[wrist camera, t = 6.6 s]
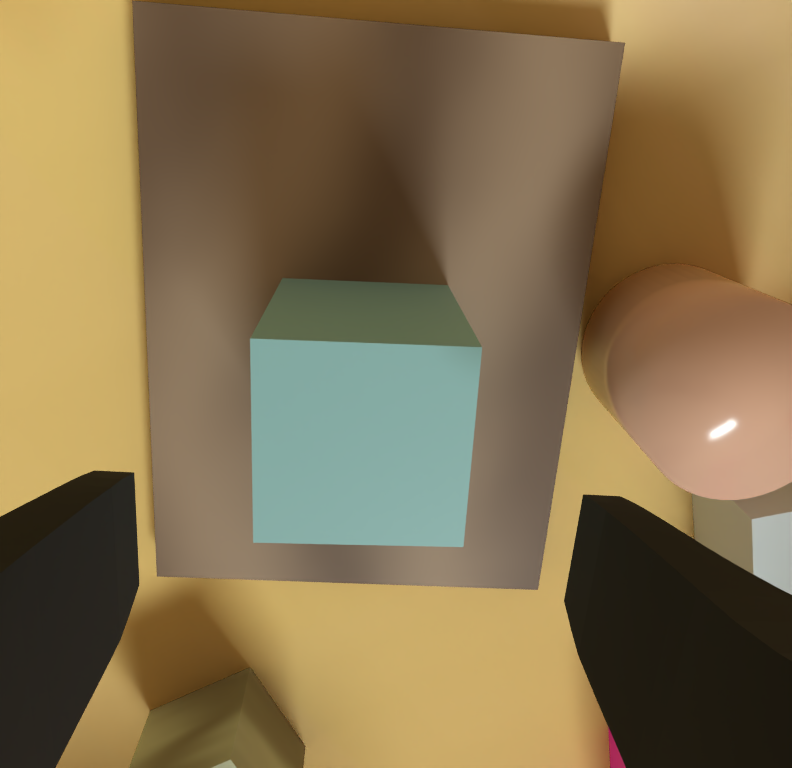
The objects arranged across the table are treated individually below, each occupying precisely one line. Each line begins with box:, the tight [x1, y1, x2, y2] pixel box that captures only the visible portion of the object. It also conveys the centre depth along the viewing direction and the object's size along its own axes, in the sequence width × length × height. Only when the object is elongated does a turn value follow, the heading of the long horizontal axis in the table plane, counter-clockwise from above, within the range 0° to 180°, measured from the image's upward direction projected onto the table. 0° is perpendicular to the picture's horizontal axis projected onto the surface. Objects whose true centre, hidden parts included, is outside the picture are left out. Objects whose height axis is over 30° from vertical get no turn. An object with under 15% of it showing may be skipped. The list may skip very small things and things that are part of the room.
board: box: [132, 1, 625, 590], centre depth 21 cm, size 12×16×1 cm
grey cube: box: [692, 482, 792, 595], centre depth 22 cm, size 4×4×4 cm
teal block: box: [250, 278, 482, 547], centre depth 18 cm, size 4×4×6 cm
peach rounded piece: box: [582, 264, 792, 500], centre depth 19 cm, size 5×5×5 cm
